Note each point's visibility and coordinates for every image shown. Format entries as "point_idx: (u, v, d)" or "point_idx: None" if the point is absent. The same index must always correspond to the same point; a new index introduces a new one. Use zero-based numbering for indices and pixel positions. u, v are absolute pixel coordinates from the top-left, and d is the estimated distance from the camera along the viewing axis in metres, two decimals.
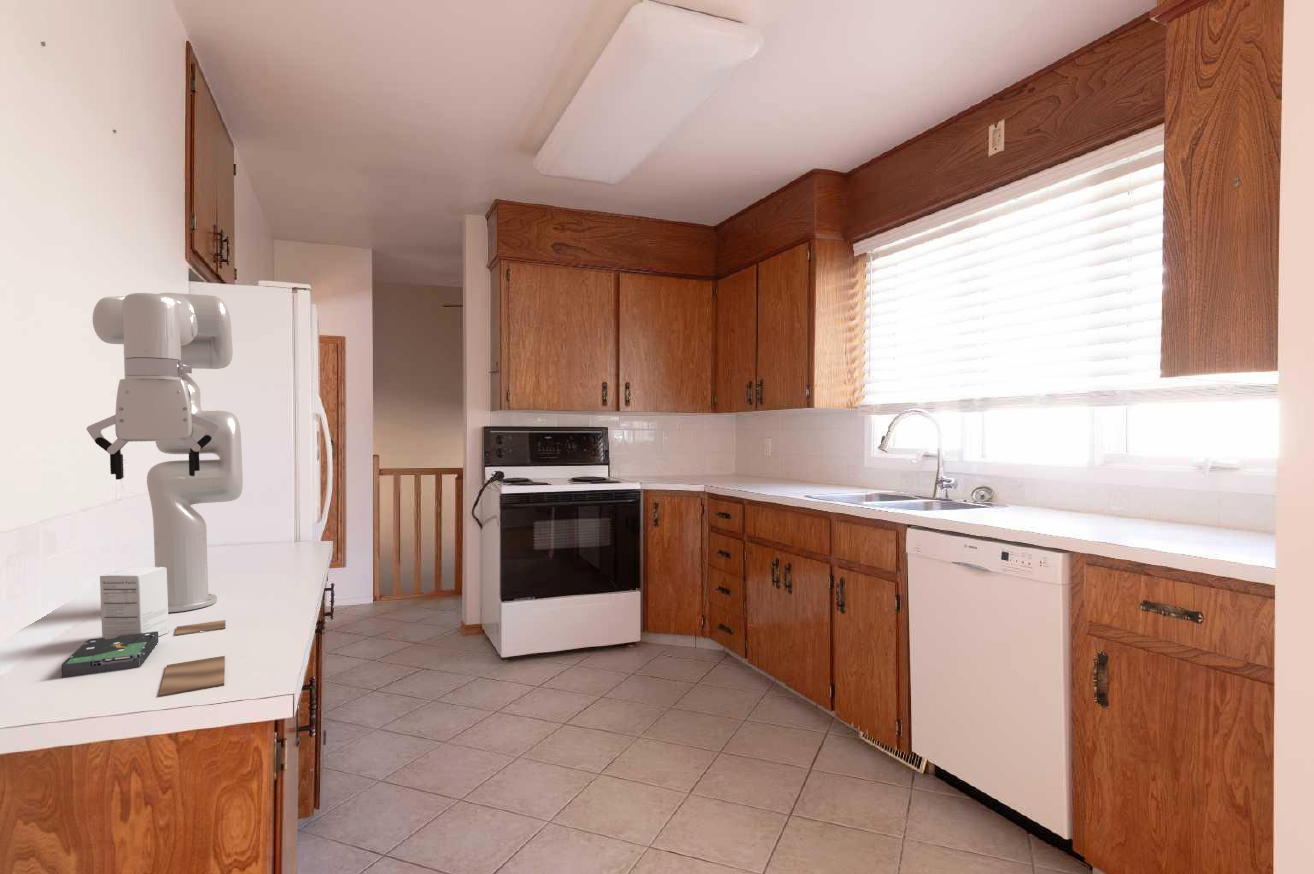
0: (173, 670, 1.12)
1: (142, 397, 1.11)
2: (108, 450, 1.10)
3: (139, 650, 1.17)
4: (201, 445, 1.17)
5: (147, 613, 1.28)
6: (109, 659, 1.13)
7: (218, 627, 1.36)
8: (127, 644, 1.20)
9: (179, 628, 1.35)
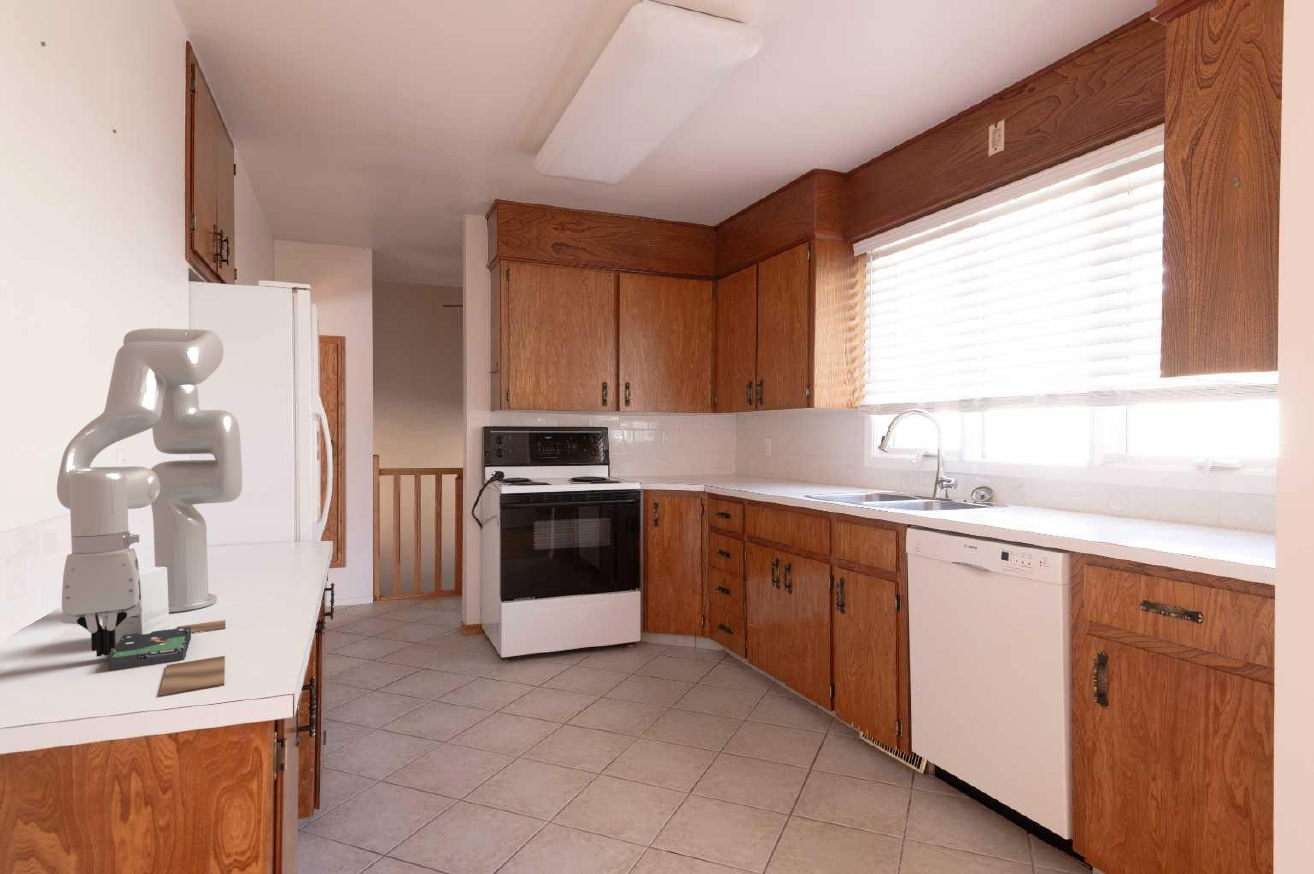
0: (173, 670, 1.12)
1: (88, 573, 1.15)
2: (89, 629, 1.16)
3: (181, 644, 1.20)
4: (116, 623, 1.18)
5: (148, 612, 1.28)
6: (155, 652, 1.16)
7: (218, 627, 1.36)
8: (166, 639, 1.23)
9: None
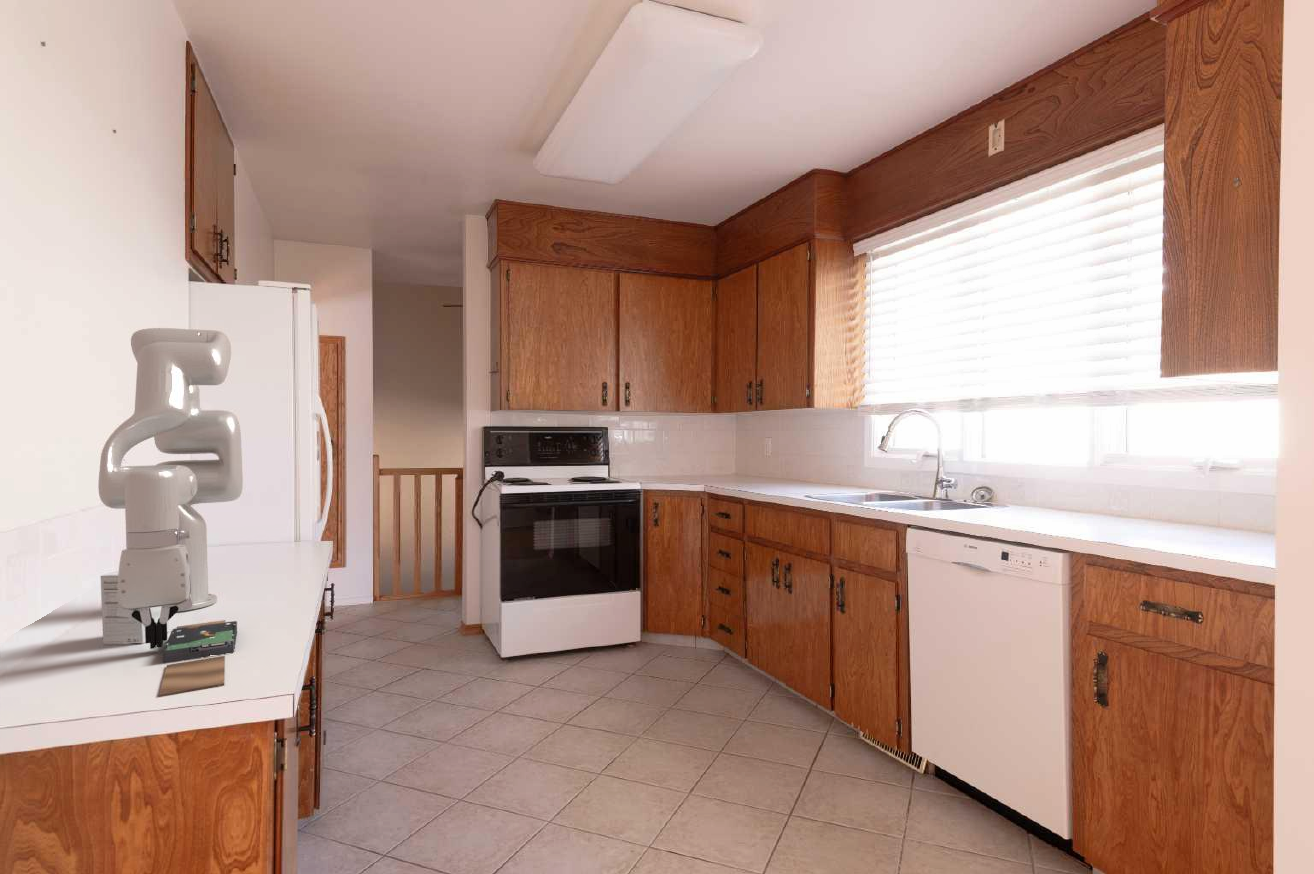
0: (173, 670, 1.12)
1: (143, 568, 1.19)
2: (143, 622, 1.20)
3: (230, 637, 1.23)
4: (168, 616, 1.22)
5: None
6: (206, 645, 1.19)
7: None
8: (214, 632, 1.26)
9: None
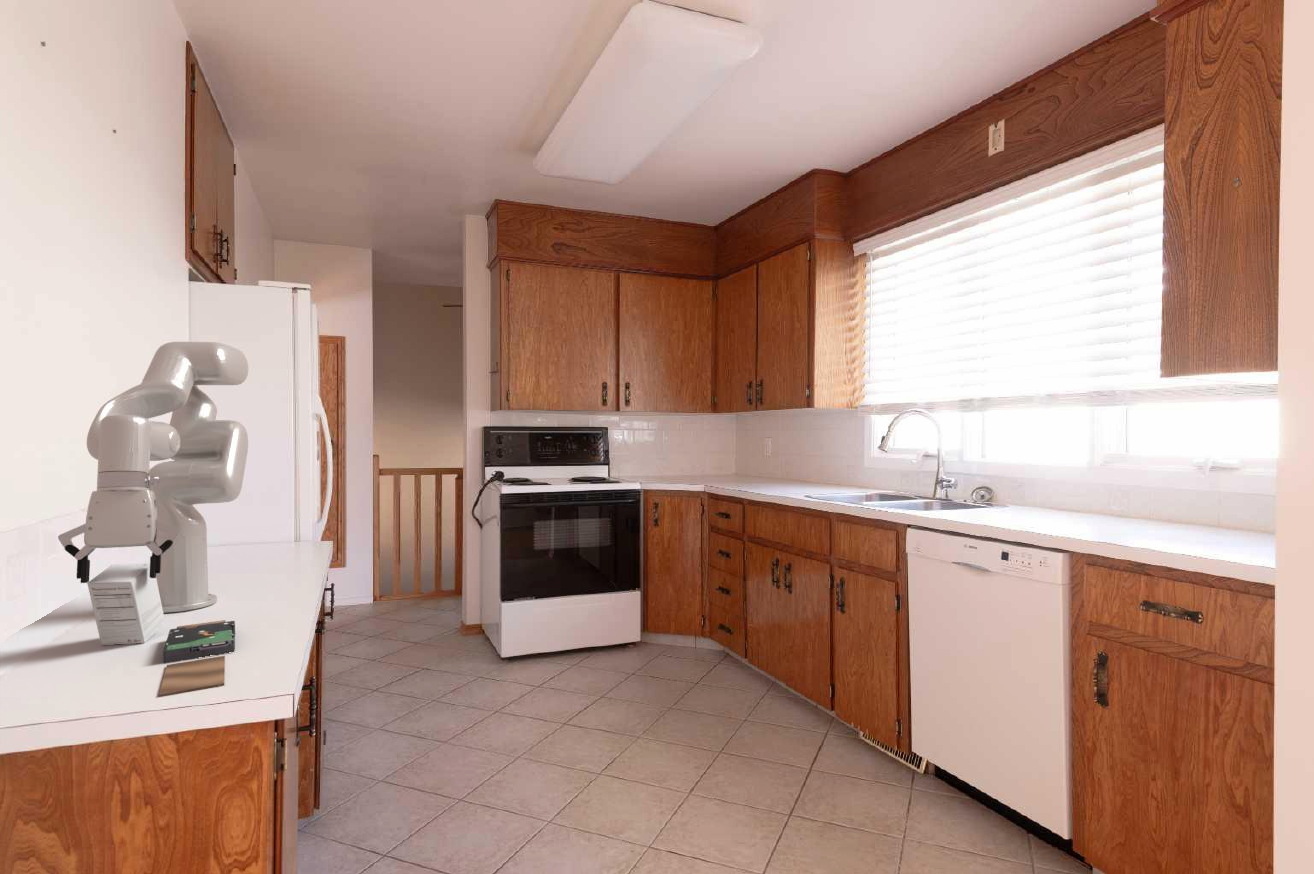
0: (173, 670, 1.12)
1: (111, 507, 1.24)
2: (76, 556, 1.21)
3: (230, 636, 1.23)
4: (163, 549, 1.28)
5: (144, 613, 1.27)
6: (207, 645, 1.19)
7: None
8: (213, 632, 1.26)
9: None
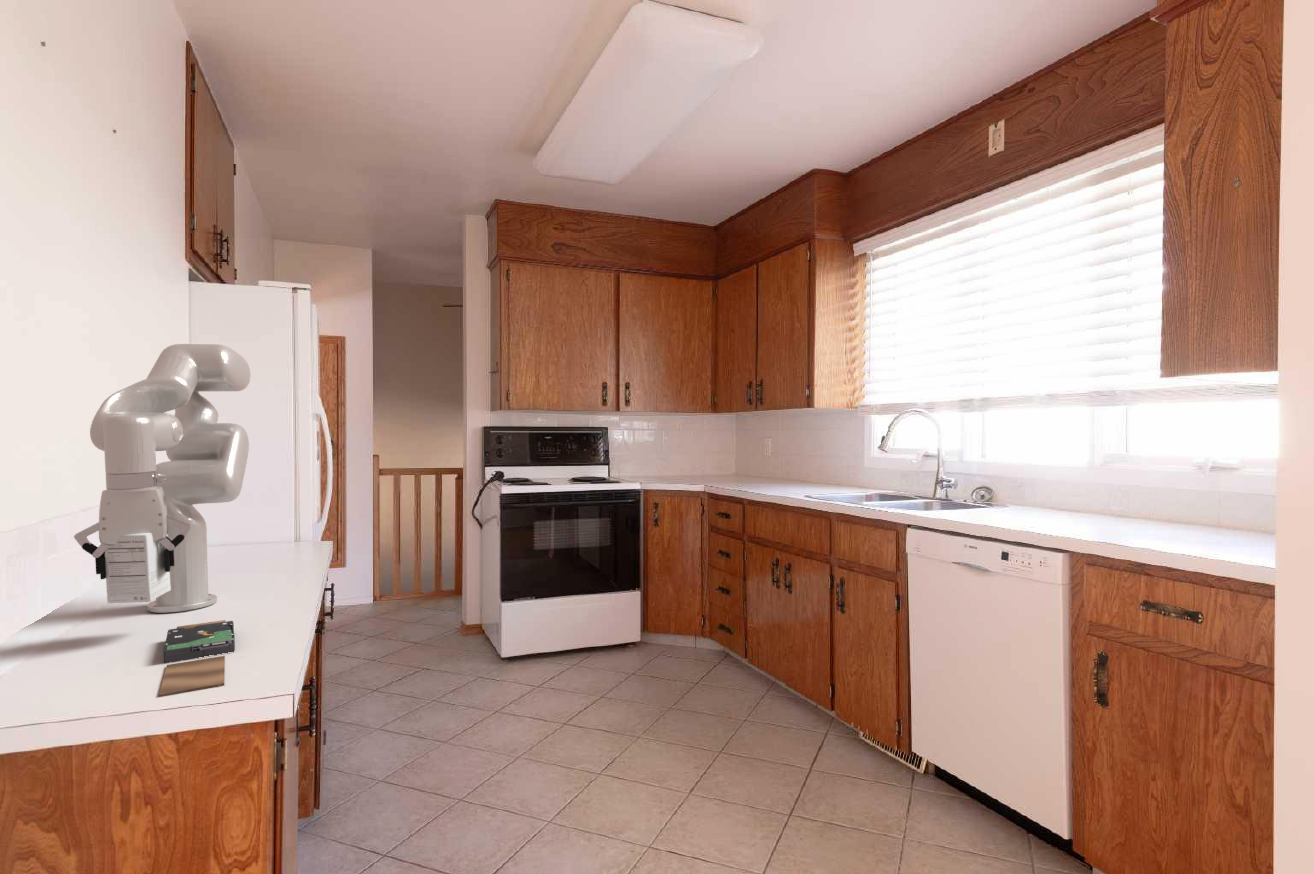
0: (173, 670, 1.12)
1: (122, 507, 1.27)
2: (93, 554, 1.26)
3: (230, 636, 1.23)
4: (175, 544, 1.33)
5: (154, 571, 1.30)
6: (207, 645, 1.19)
7: None
8: (213, 632, 1.26)
9: None
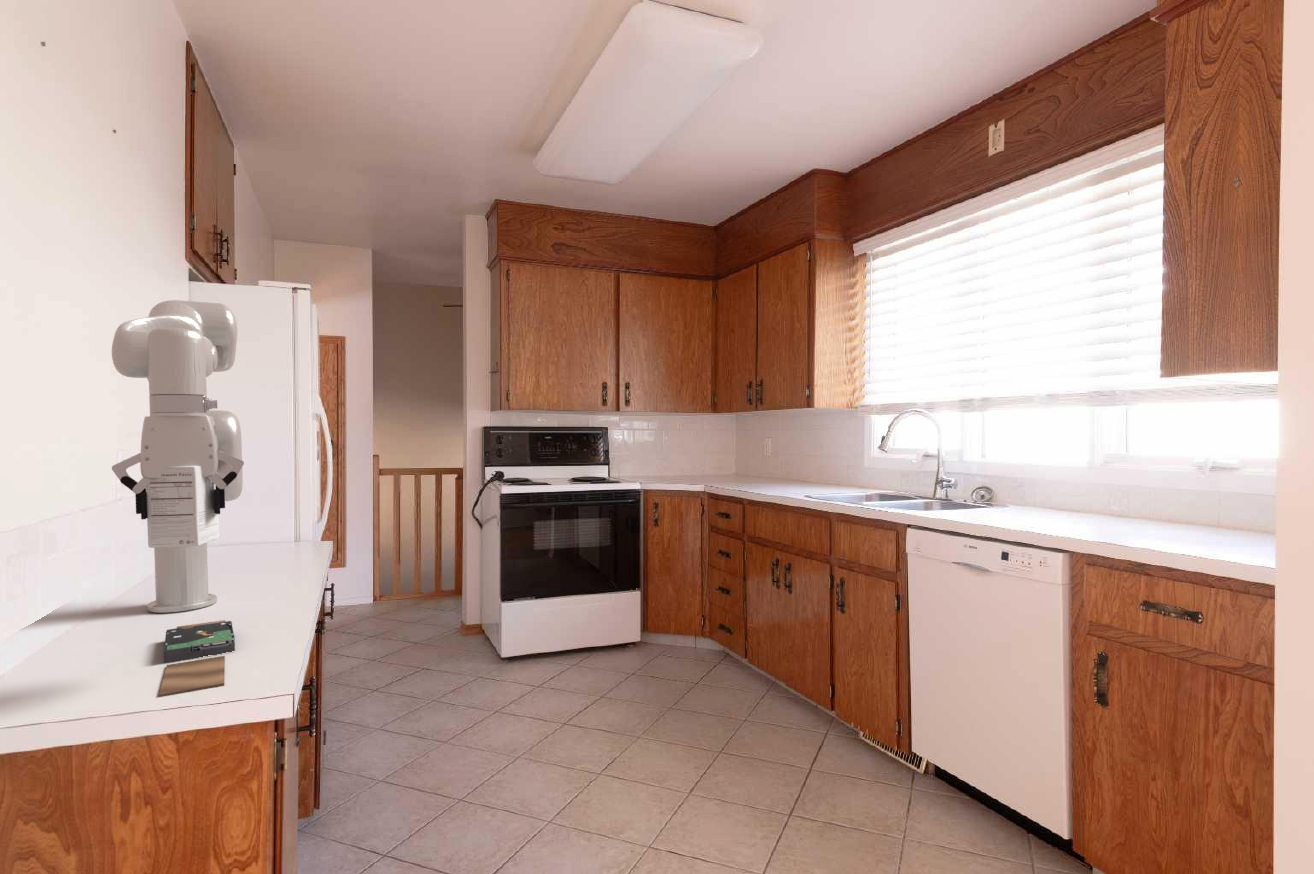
0: (173, 670, 1.12)
1: (168, 435, 1.09)
2: (133, 489, 1.08)
3: (230, 636, 1.24)
4: (227, 482, 1.14)
5: (202, 511, 1.11)
6: (207, 644, 1.19)
7: None
8: (212, 632, 1.26)
9: None
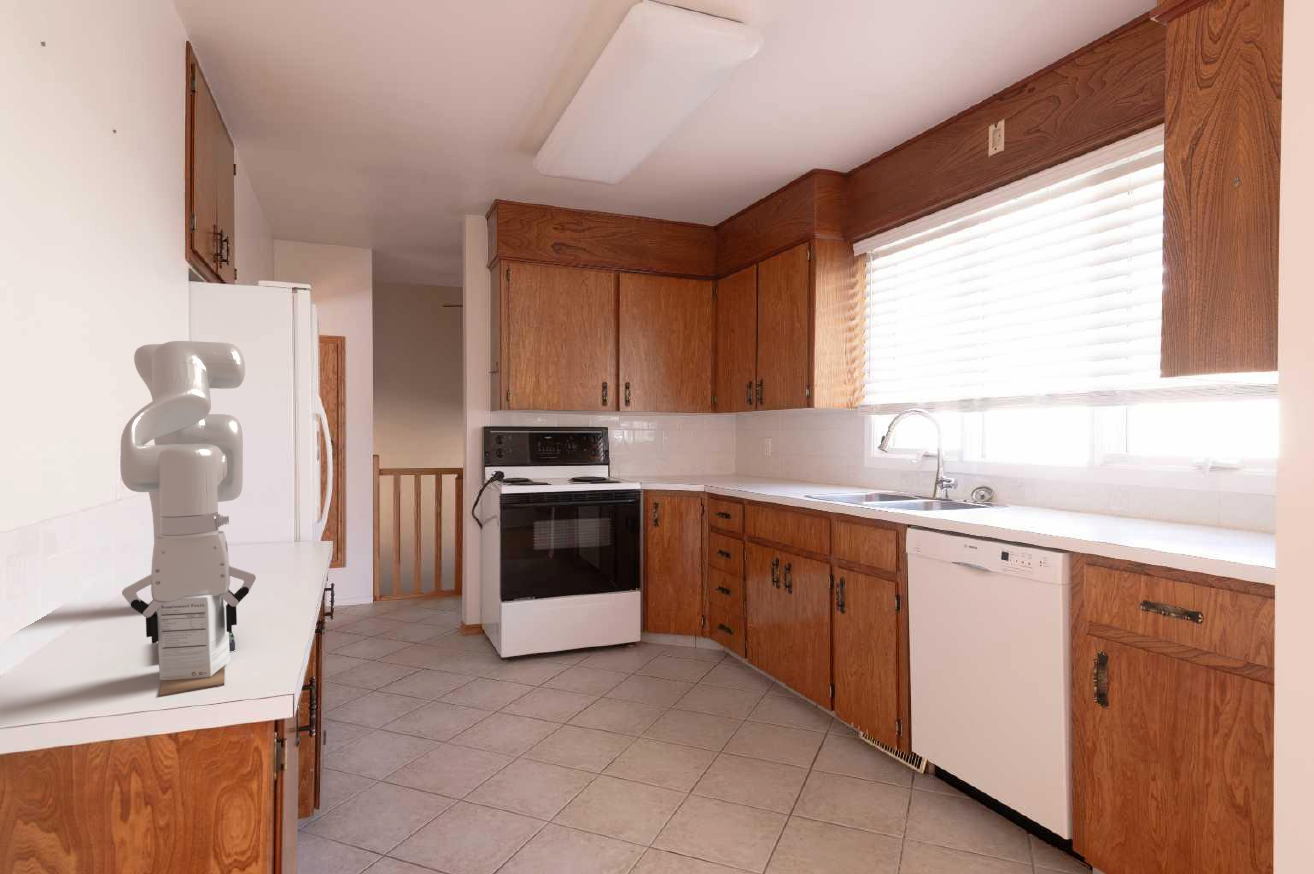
0: None
1: (179, 557, 1.07)
2: (144, 613, 1.06)
3: (229, 636, 1.24)
4: (238, 598, 1.12)
5: (214, 640, 1.10)
6: None
7: None
8: None
9: None
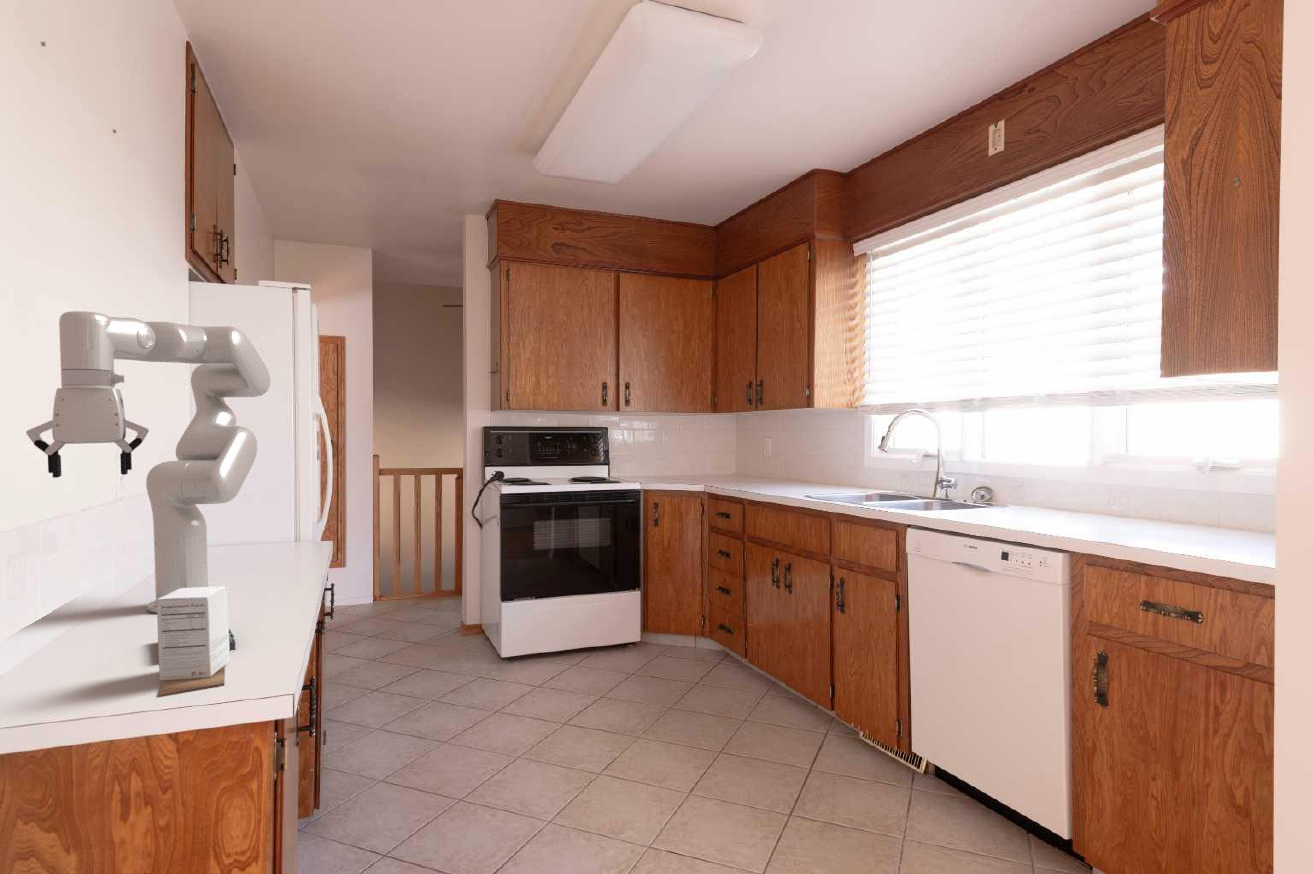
0: None
1: (77, 404, 1.25)
2: (46, 451, 1.24)
3: (229, 635, 1.24)
4: (132, 447, 1.30)
5: (214, 640, 1.10)
6: None
7: None
8: None
9: None
